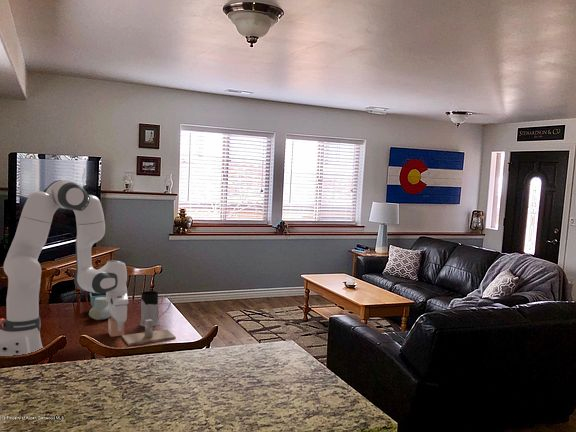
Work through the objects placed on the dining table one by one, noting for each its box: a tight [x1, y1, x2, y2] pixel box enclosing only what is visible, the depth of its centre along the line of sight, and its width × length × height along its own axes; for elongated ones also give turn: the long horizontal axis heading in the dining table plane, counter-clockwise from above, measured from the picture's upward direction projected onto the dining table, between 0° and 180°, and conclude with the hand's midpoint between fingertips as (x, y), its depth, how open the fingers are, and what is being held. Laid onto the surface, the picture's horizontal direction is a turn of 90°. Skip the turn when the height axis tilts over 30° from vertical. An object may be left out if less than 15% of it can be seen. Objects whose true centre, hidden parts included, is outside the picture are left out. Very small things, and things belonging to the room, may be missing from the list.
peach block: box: [107, 317, 125, 337], centre depth 224 cm, size 6×6×7 cm
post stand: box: [121, 319, 177, 347], centre depth 220 cm, size 20×12×8 cm, turn 121°
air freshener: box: [88, 297, 111, 321], centre depth 247 cm, size 11×8×10 cm
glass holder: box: [139, 290, 172, 328], centre depth 241 cm, size 9×14×15 cm, turn 109°
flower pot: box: [89, 292, 108, 309], centre depth 260 cm, size 9×9×9 cm
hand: (116, 327), depth 224 cm, fingers open, 8 cm apart
